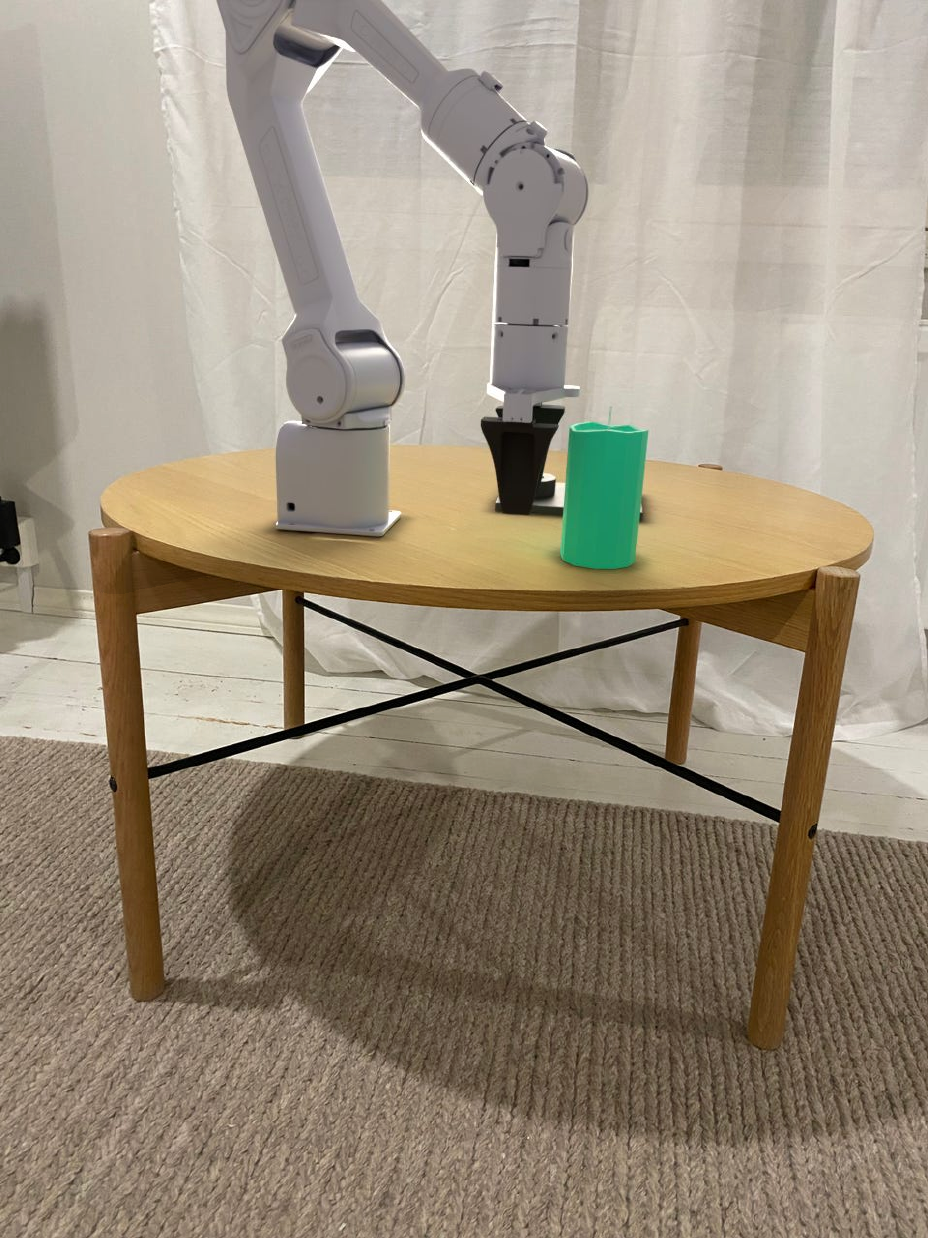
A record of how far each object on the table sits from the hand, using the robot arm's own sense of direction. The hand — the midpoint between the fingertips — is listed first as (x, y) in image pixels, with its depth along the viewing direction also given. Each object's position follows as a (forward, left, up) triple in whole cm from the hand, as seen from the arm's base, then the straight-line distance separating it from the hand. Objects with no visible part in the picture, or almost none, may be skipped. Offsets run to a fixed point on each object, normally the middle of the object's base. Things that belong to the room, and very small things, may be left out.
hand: (520, 503), depth 74 cm
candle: (+6, 0, -4) cm, 8 cm away
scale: (+3, +20, -4) cm, 21 cm away
